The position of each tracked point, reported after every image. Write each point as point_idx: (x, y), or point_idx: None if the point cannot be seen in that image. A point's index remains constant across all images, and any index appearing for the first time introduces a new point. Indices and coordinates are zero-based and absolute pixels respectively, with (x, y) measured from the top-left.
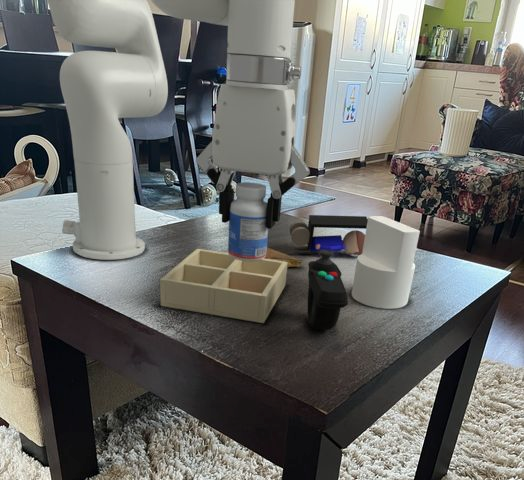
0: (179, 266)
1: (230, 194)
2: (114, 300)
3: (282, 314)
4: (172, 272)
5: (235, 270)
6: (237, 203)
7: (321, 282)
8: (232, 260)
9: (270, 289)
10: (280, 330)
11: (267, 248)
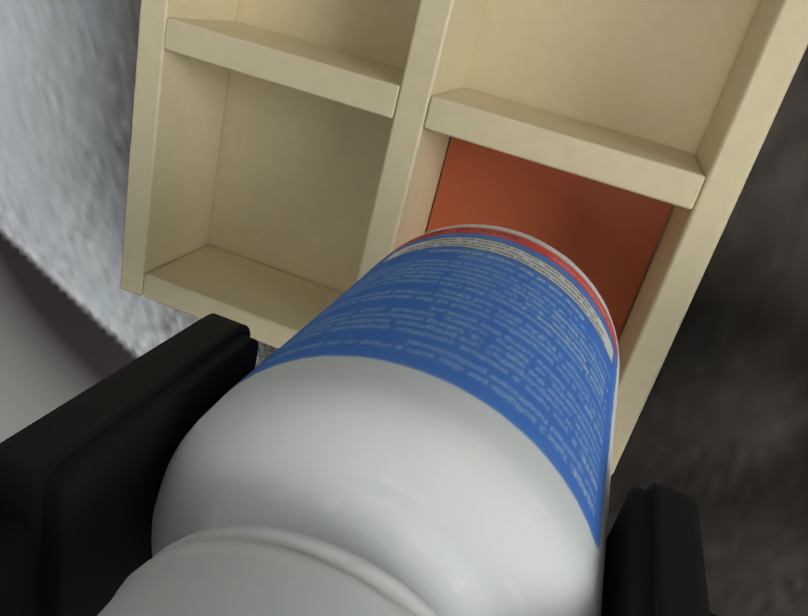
0: (151, 95)
1: (76, 594)
2: (37, 211)
3: (729, 312)
4: (143, 193)
5: (456, 106)
6: None
7: None
8: None
9: (651, 388)
10: (684, 467)
11: None
